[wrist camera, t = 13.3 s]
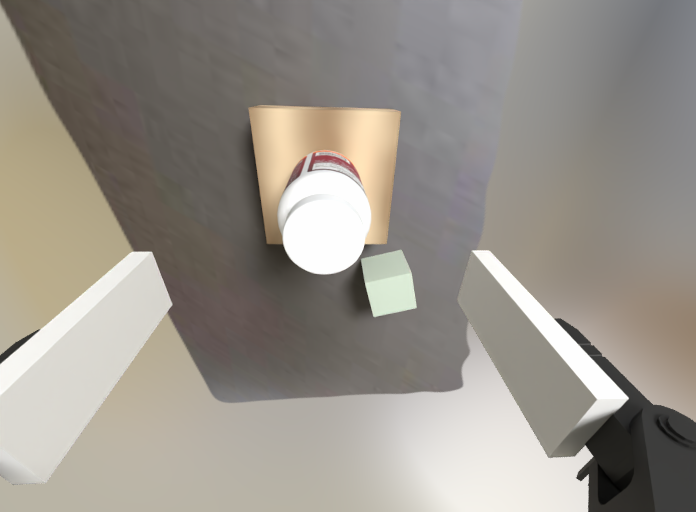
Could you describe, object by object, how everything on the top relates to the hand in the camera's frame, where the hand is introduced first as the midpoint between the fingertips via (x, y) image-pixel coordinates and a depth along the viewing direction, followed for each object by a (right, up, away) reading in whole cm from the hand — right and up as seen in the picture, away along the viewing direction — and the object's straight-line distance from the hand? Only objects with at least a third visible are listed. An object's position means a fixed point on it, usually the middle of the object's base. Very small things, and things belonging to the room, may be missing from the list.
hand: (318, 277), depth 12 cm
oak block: (-1, +9, +17) cm, 19 cm away
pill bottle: (-1, +7, +13) cm, 15 cm away
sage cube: (+6, -1, +23) cm, 24 cm away
